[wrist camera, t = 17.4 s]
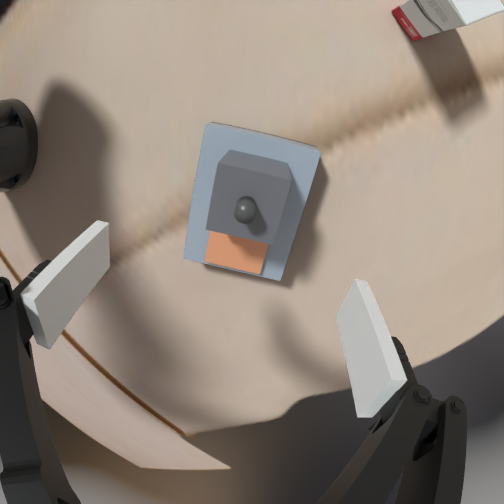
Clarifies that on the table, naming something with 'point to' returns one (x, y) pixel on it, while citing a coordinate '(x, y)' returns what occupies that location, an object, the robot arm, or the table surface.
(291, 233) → the socket
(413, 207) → the table surface
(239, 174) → the plug
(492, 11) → the ink box
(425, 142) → the table surface
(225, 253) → the shutter
